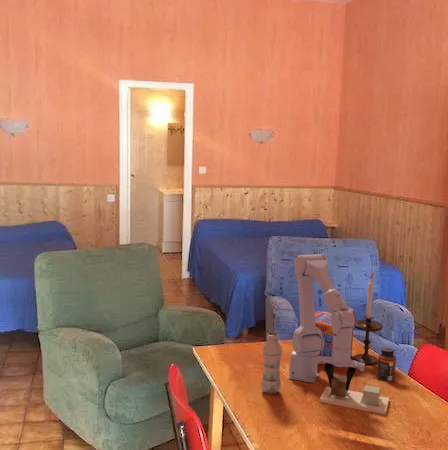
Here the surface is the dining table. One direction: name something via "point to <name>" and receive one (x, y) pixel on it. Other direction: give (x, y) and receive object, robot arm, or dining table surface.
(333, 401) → the base board
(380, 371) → the supplement bottle
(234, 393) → the dining table surface
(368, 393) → the sage block
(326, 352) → the game box
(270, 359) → the plastic bottle
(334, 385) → the walnut block
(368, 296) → the candlestick
